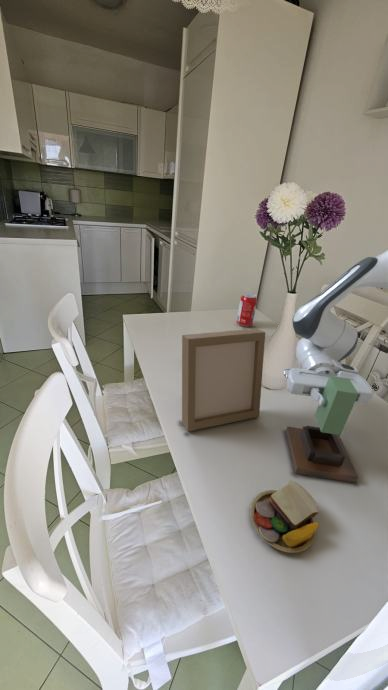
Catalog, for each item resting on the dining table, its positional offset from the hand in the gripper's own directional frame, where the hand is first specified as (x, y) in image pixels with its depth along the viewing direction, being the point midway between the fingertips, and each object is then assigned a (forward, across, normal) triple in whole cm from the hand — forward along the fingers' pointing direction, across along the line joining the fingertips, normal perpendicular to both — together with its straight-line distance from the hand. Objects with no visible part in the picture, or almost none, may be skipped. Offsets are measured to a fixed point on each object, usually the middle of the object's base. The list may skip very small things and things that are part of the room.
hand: (337, 405), depth 70 cm
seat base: (0, 0, +16) cm, 16 cm away
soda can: (-80, -15, +16) cm, 83 cm away
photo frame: (-12, -27, +16) cm, 34 cm away
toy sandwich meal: (+19, -12, +16) cm, 27 cm away
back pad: (-1, 0, +7) cm, 7 cm away
